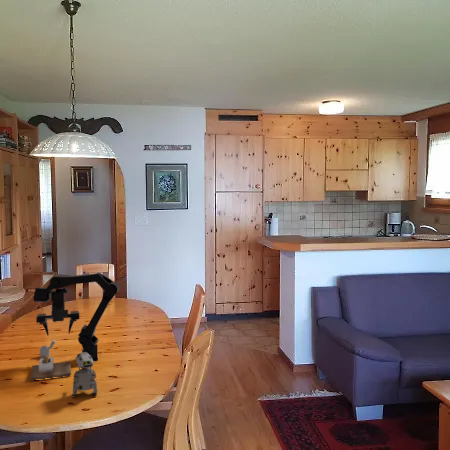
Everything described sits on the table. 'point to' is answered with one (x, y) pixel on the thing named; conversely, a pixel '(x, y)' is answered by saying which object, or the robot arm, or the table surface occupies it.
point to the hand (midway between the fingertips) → (58, 334)
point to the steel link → (46, 365)
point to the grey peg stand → (58, 370)
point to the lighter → (46, 349)
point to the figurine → (84, 374)
